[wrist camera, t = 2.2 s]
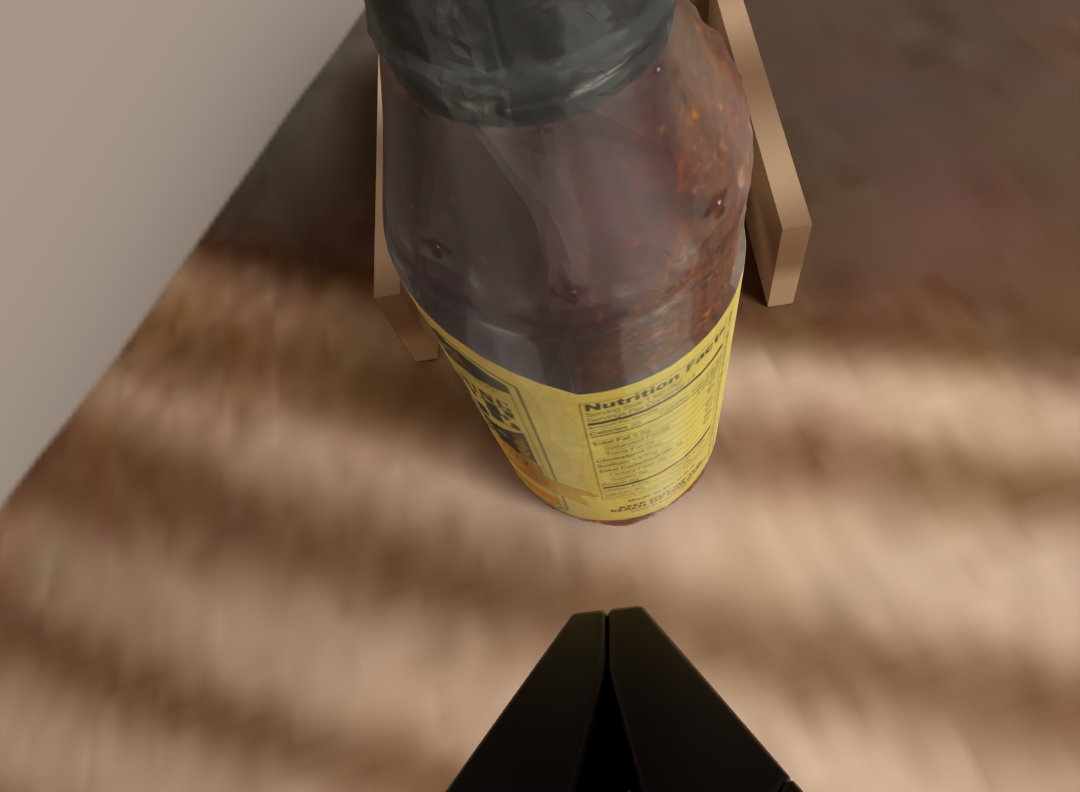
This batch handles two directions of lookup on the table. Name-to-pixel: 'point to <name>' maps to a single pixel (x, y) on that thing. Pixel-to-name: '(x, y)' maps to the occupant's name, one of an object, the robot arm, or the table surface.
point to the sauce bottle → (572, 229)
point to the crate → (770, 204)
